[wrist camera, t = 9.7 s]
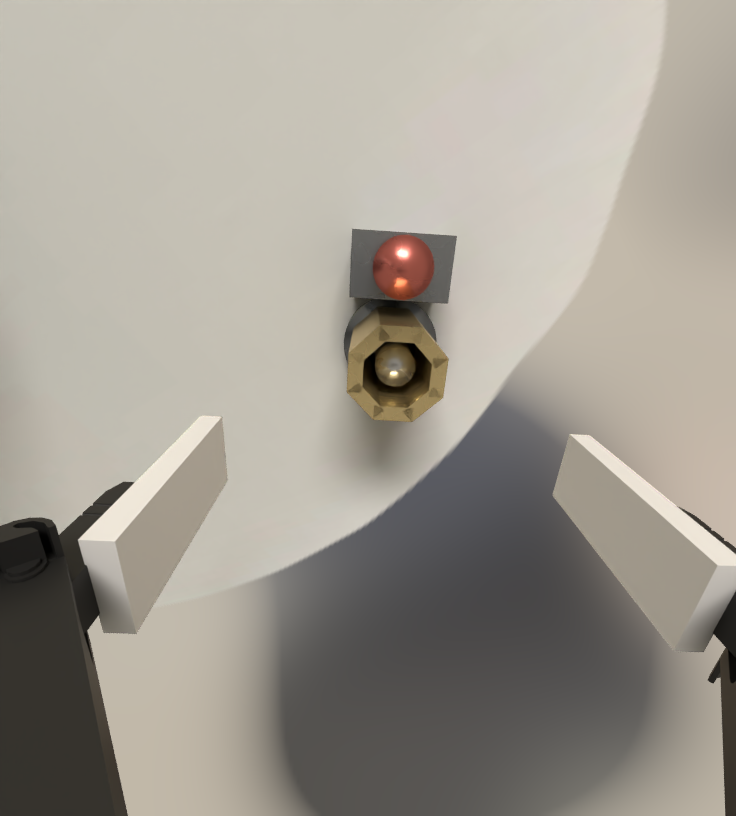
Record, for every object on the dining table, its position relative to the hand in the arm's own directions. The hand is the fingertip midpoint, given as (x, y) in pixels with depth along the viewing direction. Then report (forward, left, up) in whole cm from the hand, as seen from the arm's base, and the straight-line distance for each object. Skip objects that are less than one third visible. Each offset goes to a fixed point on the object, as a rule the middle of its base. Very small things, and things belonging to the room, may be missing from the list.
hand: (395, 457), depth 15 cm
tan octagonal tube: (+1, 0, -20) cm, 20 cm away
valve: (+1, +2, -21) cm, 21 cm away
